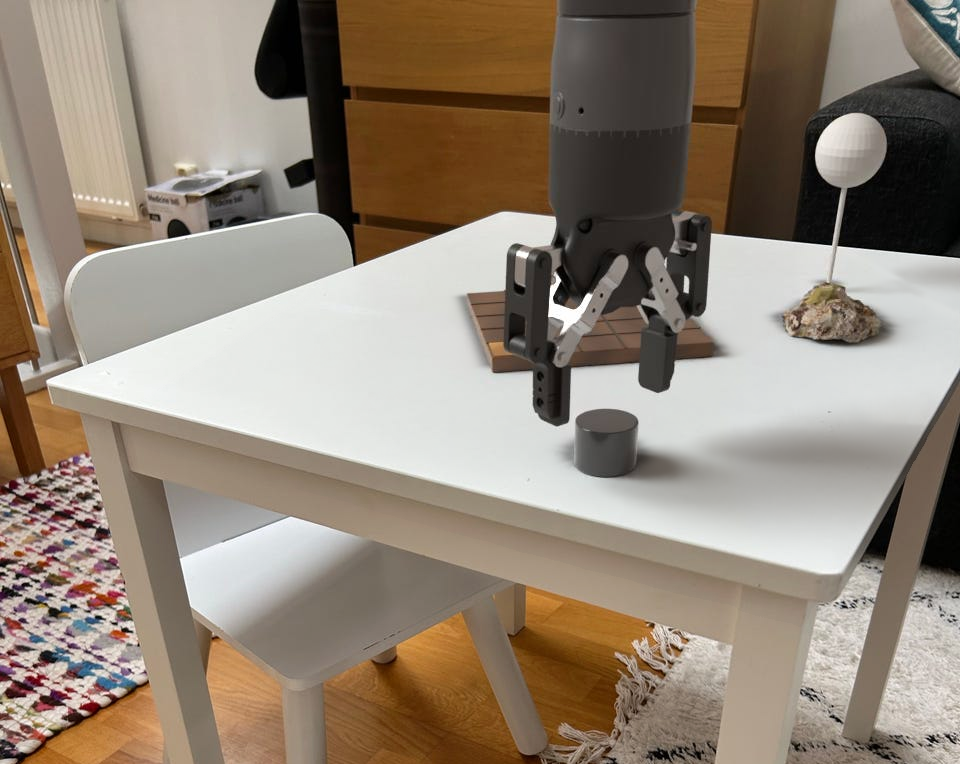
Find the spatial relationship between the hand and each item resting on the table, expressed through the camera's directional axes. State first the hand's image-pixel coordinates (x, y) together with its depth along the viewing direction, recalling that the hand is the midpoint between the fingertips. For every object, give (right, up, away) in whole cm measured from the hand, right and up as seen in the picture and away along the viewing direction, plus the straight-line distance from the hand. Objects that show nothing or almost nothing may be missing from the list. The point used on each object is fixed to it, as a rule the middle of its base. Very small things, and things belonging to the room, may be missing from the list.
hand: (605, 404), depth 62 cm
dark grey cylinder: (0, -3, +3) cm, 4 cm away
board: (+1, +12, +25) cm, 28 cm away
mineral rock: (+22, +12, +23) cm, 34 cm away
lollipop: (+25, +18, +32) cm, 44 cm away
